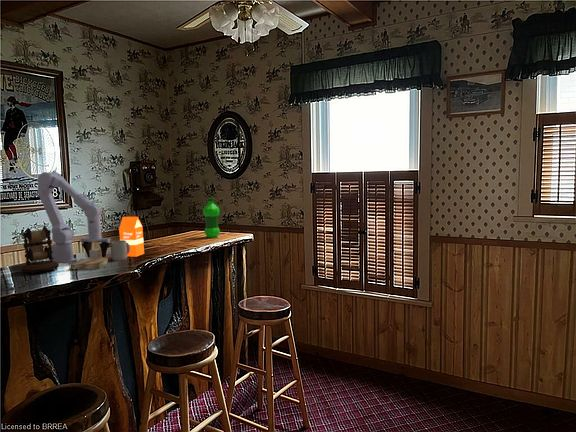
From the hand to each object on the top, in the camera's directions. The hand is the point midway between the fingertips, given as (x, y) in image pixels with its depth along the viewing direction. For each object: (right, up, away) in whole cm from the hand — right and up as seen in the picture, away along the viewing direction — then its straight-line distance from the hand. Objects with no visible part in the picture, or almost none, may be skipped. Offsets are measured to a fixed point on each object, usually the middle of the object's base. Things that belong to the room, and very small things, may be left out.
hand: (96, 256), depth 211 cm
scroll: (-16, -5, -20) cm, 26 cm away
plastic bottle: (+47, +6, +60) cm, 77 cm away
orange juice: (+14, 0, +11) cm, 18 cm away
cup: (+11, -1, +3) cm, 12 cm away
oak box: (+3, -4, -13) cm, 14 cm away
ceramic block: (0, -2, 0) cm, 2 cm away
